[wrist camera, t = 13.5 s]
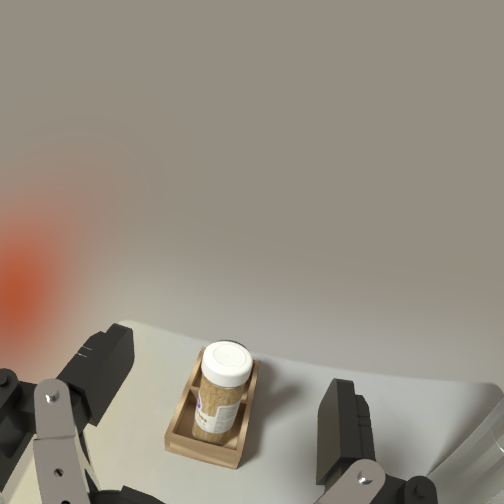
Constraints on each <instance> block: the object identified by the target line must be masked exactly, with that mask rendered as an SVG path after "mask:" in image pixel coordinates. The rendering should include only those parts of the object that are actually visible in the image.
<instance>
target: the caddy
mask: <svg viewBox="0 0 504 504" xmlns="http://www.w3.org/2000/svg"><path fill="white" fill-rule="evenodd" d="M205 349H206V348H205V347H202V349H201V351H200V353H199V356H198V358H197V360H196V363H195V365H194V367H193V370H192V372H191V374H190V377H189V379H188V381H187V384H186V386H185V389H184V391H183V393H182V396H181V398H180V400H179V403H178V405H177V407H176V410H175V412H174V415H173V417H172V419H171V422H170V424H169V427H168V429H167V431H166V434H165V450H166V451H169V452H172V453H176V454H179V455H182V456H185V457H189V458H192V459H196V460H199V461H203V462H207V463H210V464H214V465H218V466H223V467H227V468H231V469H236V468H237V466H238V463H239V461H240V458H241V456H242V451H243V446H244V441H245V436H246V431H247V426H248V421H249V416H250V411H251V406H252V400H253V395H254V390H255V385H256V379H257V374H258V369H259V363H260V361H256V360H253V365H252V369H251V373H250V376H249V378H248V380H247V381H246V383H245V386H244V389H243V392H242V398H241V401H240V404H239V408H238V411H237V414H236V417H235V420H234V423H233V425H232V427H231V430H230V437H229V439H228V441H227V442H226V443H225V444H223V445H221V446H216V445H212V444H208V443H204V442H201V441H197V440H196V439H195V438H194V436H193V434H192V427H193V424H194V421H195V411H196V406H197V400H198V394H199V389H200V385H201V379H202V373H203V372H202V368H201V365H202V359H203V354H204V351H205Z"/></svg>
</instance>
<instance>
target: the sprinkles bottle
mask: <svg viewBox="0 0 504 504" xmlns="http://www.w3.org/2000/svg"><path fill="white" fill-rule="evenodd" d="M252 365H253V359H252V356H251V354H250V353H249V352H248V350H247V349H245V348H244V347H243V346H241V345H239V344H237V343H234V342H229V341H220V342H215V343H213V344H211V345H209V346H208V347H207V348H206V349H205V351H204V354H203V359H202V365H201V368H202V372H203V373H202V379H201V385H200V389H199V394H198V400H197V406H196V411H195V421H194V424H193V427H192V434H193V436H194V438H195V439H196V440H197V441H201V442H204V443H208V444H212V445H216V446H221V445H223V444H225V443H226V442H227V441H228V439H229V437H230V430H231V427H232V425H233V423H234V420H235V417H236V414H237V411H238V408H239V404H240V401H241V398H242V392H243V389H244V386H245V383H246V381H247V380H248V378H249V376H250V373H251V369H252Z"/></svg>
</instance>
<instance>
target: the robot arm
mask: <svg viewBox="0 0 504 504" xmlns="http://www.w3.org/2000/svg"><path fill="white" fill-rule="evenodd" d="M134 357H135V355H134V342H133V331H132V329H131V328H128V327H125V326H122V325H119V324H116V323H114V324H113V325H112V326H111V327H110V328H109V329H108V330H107V332H106V333H103V332H101V331H100V332H98V333H96V334H94V335H93V336H91V337H90V338H89V339H88V340H87V341H86V342H85V343H84V345H83V347H81V348H80V349H79V351H78V352H77V354H75V356H74V357H73V358H72V359H71V360H70V362H69V363H68V364H67V365H66V367H65V368H64V369H63V370H62V372H61V373H60V374H59V375H58V376H57V378H56V379H46V380H44V381H42V382H40V383H39V384H32V383H27V382H23V381H19V380H18V378H17V376H16V374H15V373H14V372H13V371H12V370H10V369H5V368H3V369H0V504H5V502H4V498H3V496H2V494H1V492H2V491H3V489H4V487H5V485H6V483H7V481H8V479H9V477H10V476H11V474H12V472H13V470H14V468H15V466H16V465H17V463H18V461H19V459H20V458H21V456H22V454H23V452H24V451H25V449H26V447H27V445H28V444H29V442H30V440H31V438H32V437H33V435H34V433H35V434H37V439H34V440H33V450H34V458H35V465H36V472H37V478H38V484H39V489H40V494H41V499H42V504H165V503H163V502H161V501H160V500H158V499H156V498H155V497H153V496H151V495H148V494H145V493H142V492H140V491H137V490H134V489H132V488H129V487H127V486H124V485H123V488H122V490H121V491H119V490H101V488H100V485H99V482H98V480H97V477H96V475H95V472H94V469H93V466H92V462H91V458H90V454H89V450H88V445H87V441H86V437H85V432H84V428H85V426H86V425H87V423H89V424H91V425H94V426H96V427H97V425H98V423H99V422H100V420H101V418H102V417H103V415H104V413H105V412H106V410H107V408H108V406H109V405H110V403H111V401H112V400H113V398H114V397H115V395H116V393H117V392H118V390H119V388H120V387H121V385H122V383H123V382H124V380H125V378H126V377H127V375H128V374H129V372H130V370H131V368H132V366H133V363H134ZM316 485H325V493H324V494H323V495H322V496H321V497H320V498H319V499H318V500H317V501H316V502H315V503H314V504H483V503H485V502H486V501H488V500H489V499H490V498H492V497H493V496H494V495H496V494H497V493H498V492H499V491H501V490H502V489H503V488H504V396H503V397H502V398H501V400H500V401H499V402H498V403H497V405H496V406H495V407H494V409H493V410H492V411H491V412H490V413H489V415H488V416H487V417H486V418H485V419H484V420H483V421H482V423H481V424H480V425H479V426H478V427H477V428H476V429H475V430H474V431H473V433H472V434H471V435H470V436H469V437H468V438H467V439H466V440H465V441H464V442H463V443H462V444H461V445H460V446H459V447H458V448H457V449H456V450H455V451H454V452H453V453H452V454H451V455H450V456H449V457H448V458H447V459H446V460H445V461H443V462H442V463H441V464H440V465H439V466H438V467H437V468H436V469H435V470H434V471H432V472H431V473H430V474H429V475H428V476H427V477H425V476H415V477H412V478H411V479H409V480H408V481H405V480H402V479H398V478H395V477H392V476H389V475H387V474H385V472H384V470H383V468H382V467H381V466H380V465H379V464H378V463H377V462H376V459H375V451H374V443H373V434H372V428H371V419H370V412H369V406H368V404H367V402H366V401H365V399H364V397H363V396H362V395H355V390H354V383H353V381H349V380H342V379H336V378H334V379H333V380H332V382H331V384H330V386H329V388H328V390H327V392H326V393H325V395H324V397H323V399H322V401H321V403H320V406H319V410H318V438H317V475H316Z"/></svg>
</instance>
